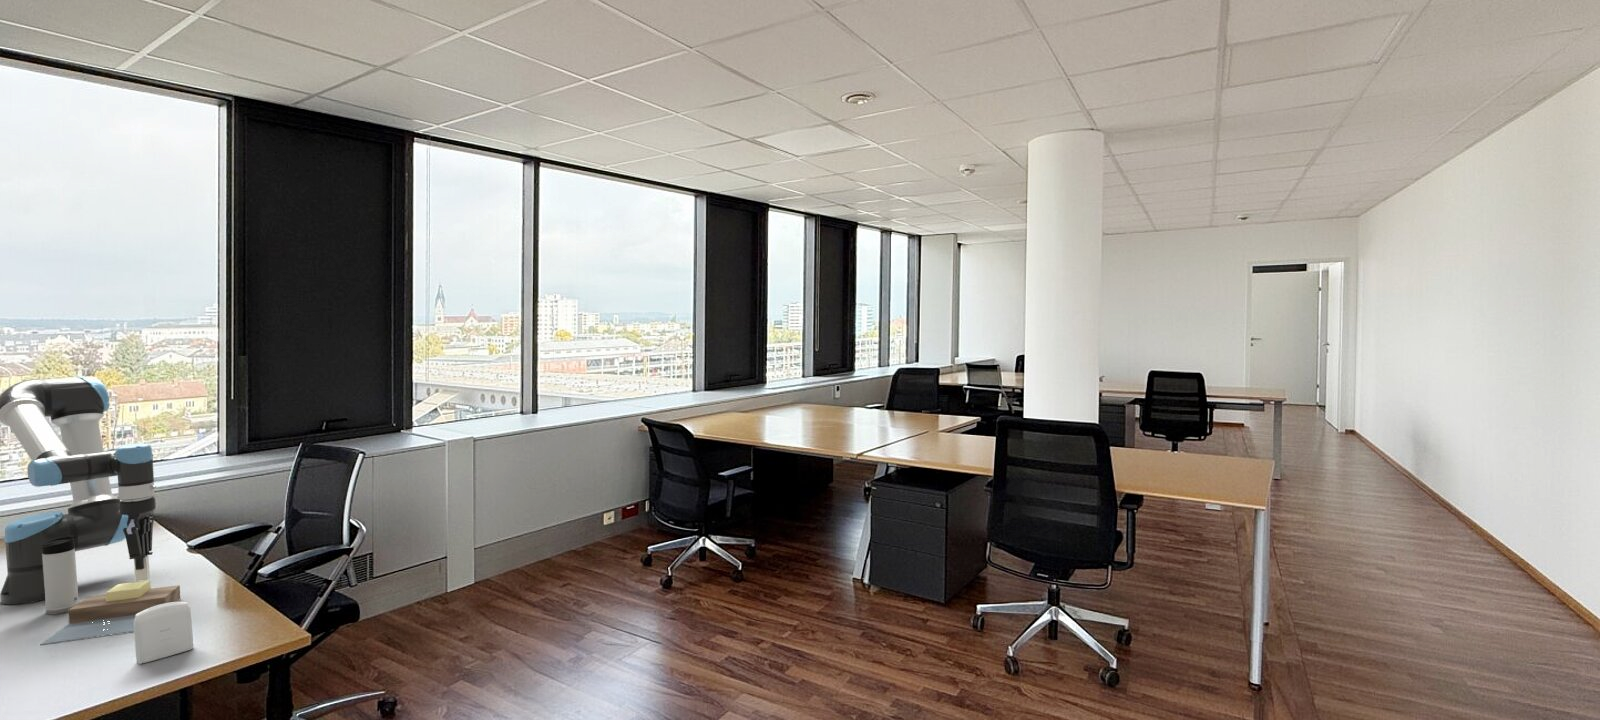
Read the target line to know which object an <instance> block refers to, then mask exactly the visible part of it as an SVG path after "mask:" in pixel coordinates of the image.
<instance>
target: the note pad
mask: <svg viewBox="0 0 1600 720" xmlns="http://www.w3.org/2000/svg"><path fill="white" fill-rule="evenodd" d="M150 589H152V587H151V580H150V579H147V580H139V581H133V582H124V583H118V584H115V586H113V587H112V588H110V589H108V590H107V591H106V592H105V594H106V602H108V601H116V600H124V599H132V598H139V597H141V596H142V595H143V594H145V593H146V592H147V591H149V590H150Z"/></svg>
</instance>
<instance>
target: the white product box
mask: <svg viewBox="0 0 1600 720" xmlns="http://www.w3.org/2000/svg"><path fill="white" fill-rule="evenodd" d="M133 634H134V637H133V638H134V645H135V646H134V647H135V648H134V649H135V658H136V663H137V664H138V665H143V664H145V663H148V662H149V663H150V662H152V661H156V660H160V659H164V658H167V657H171V656H173V655H177V654H180V653H183V652H187V651H191V650H193V649H194V635H193V621H192V611H191V607H190V606H189V603H188V602H187V601H177V602H170V603H164V604H160V605H156V606H153V607H150V608H148V609H145V610H143V611H141V612H139V613H137V614H136V615H135V619H134V632H133ZM142 663H143V664H142Z"/></svg>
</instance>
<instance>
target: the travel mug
mask: <svg viewBox="0 0 1600 720" xmlns="http://www.w3.org/2000/svg"><path fill="white" fill-rule="evenodd" d="M74 538H75V536H68V537H63V538H58V539H54V540H51V541H48V542H46V543H44V544H42V550H43V551H42V555H43V557H42V559H43V573H44V587H45V600H44V601H45V607H46V608H45V612H46V614H48V615H59V614H64V612H65V613H68V610H69V609H70V608H72V607H73V606H75V605H76V604H78V603H79V589H78V575H77V561H76V559H77V558H76V552H75V551H74V550H75V547H74Z"/></svg>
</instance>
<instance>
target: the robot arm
mask: <svg viewBox="0 0 1600 720" xmlns="http://www.w3.org/2000/svg"><path fill="white" fill-rule="evenodd" d="M109 396H110V395H109V392H108V390H107V387H106V386H105V384H104V383H103V382H102V381H101V380H100V379H99V378H97V377H94V376H70V377H57V378H56V377H55V378H39V379H38V378H37V379H27V380H23V381H20V382H17V383H14V384H13V385H11V386H9V387H8V388H6V389H5V390H4V391H3V392H1V394H0V423H1V424H3V425H5V426H6V427H9V428H10V429H11V431H12V433H13V434H14V436H15V437H16V439H17V440H18V442H19V443H20V445H21V446H22V448H23V449H24V451H25V453H26V454H27V455H28V457H29V459H30V460H31V461H30V462H29V463H28V465H27V471H26V472H27V477H28V480H29V483H30V484H31V485H32V486H33V487H37V488H40V487H47V486H49V487H50V486H51V487H53V486H57V485H63V484H70V491H71V495H72V500H73V501H72V503H71V504H70V505H69V506H68V508H67V512H68V513H65V514H64V513H63V512H62V511H60V510H51V511H47V512H44V511H43V512H40V513H33V514H30V515H26V516H24V517H21V518H18V519H15V520H13V521H11V522H9V523H8V524H7V525H6V526H5V529H4V539H3V542H4V544H5V545H4V547H5V557H6V569H7V570H6V571H7V576H6V577H5V581H4V583H3V585H2V588H1V591H0V603H1V604H3V605H19V604H18V603H22V604H28V602H29V603H34V602H33V601H35V602H39V601H38V600H40V601H44V600H43V599H45V587H44V573H43V559H42V557H43V555H42V551H43V550H42V544H44V543H46V542H48V541H51V540H54V539H58V538H63V537H68V536H75V538H74V547H75V550H74V551H75V553H76V552H79V551H85V550H89V549H95V548H99V547H108V546H110V545H112V544H116V543H120V542H123V541H124V540H125V542H126V546H127V552H128V556H129V557H128V559H129V560H133V563H134V578H135V581H134V582H139V581H147V580H150V578H151V576H150V575H151V574H150V561H149V560H150V559H149V558H150V557H149V556H151V555H153V550H152V549H153V532H154V531H153V530H154V529H153V528H154V526H153V525H154V520H155V517H154V516H150V512H153V511H154V510H156V508H157V507H156V498H155V497H154V495H156V494H155V489H157V485H155V478H154V477H155V476H154V460H153V459H154V454H153V450H152V446H151V445H150V444H149V443H130V444H123V445H120V446H118V447H117V448H110V449H106V450H104V446H103V440H102V435H101V430H100V429H101V428H100V425H99V422H100V421H101V419H103V418H104V413H105V412H107V411H108V410H109V408H110V397H109ZM48 417H50V421H49V419H48ZM52 424H53V425H55V426H56V427H59V431H60V435H59V434H58V432H57V431H56V430H55V428H54V427H53V425H52ZM60 436H61V437H60ZM111 477H117V485H118V486H117V489H118V491H117V493H118V497H117V496H116V495H113V493H112V486H111V483H110V482H111V481H110V478H111Z"/></svg>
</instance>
